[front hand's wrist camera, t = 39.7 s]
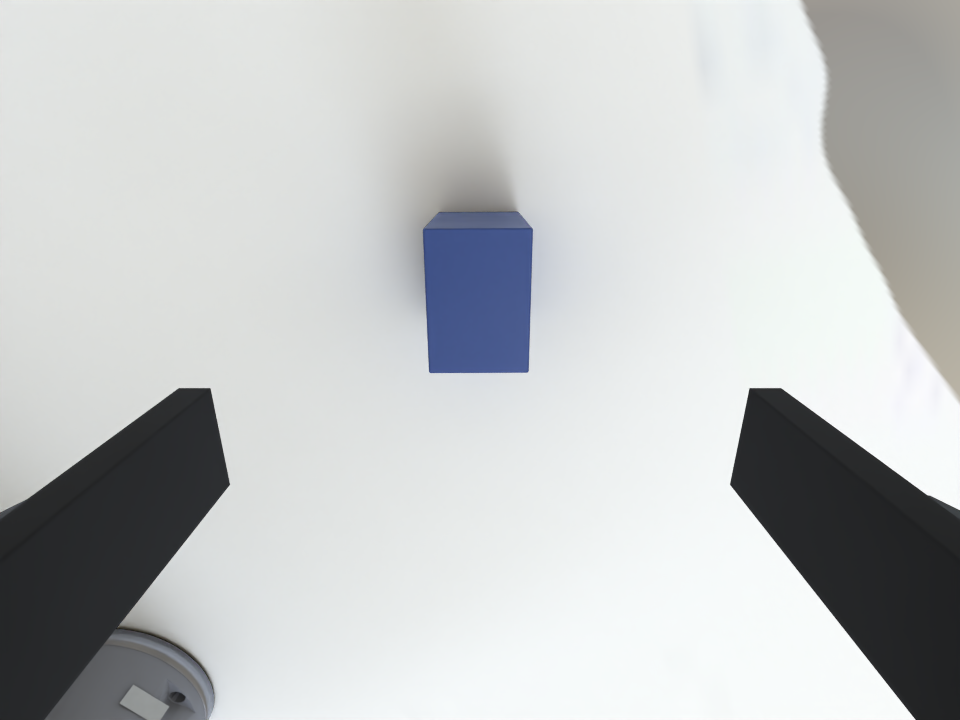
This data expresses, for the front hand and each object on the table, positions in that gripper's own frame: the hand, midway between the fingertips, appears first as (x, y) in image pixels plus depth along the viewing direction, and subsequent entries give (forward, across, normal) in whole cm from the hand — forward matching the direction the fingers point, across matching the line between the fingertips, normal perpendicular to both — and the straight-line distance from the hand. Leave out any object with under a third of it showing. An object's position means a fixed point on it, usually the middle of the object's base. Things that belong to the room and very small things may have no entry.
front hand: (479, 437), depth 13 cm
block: (+23, 0, 0) cm, 23 cm away
